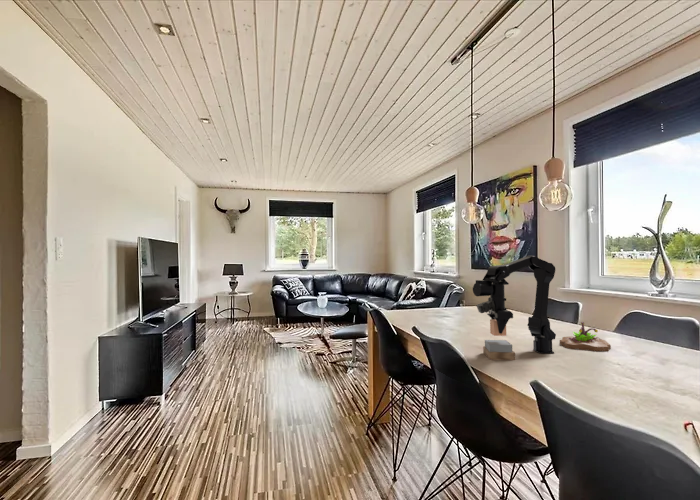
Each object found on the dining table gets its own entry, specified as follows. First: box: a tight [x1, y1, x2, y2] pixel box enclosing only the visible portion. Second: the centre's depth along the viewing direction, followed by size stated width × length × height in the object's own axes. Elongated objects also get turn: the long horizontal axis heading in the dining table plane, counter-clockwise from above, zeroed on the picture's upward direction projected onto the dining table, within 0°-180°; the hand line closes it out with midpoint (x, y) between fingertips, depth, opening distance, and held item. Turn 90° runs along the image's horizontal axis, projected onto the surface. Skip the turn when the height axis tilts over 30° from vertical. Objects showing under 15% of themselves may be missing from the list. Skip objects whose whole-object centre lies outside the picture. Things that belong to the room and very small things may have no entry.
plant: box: [559, 321, 612, 352], centre depth 168 cm, size 20×20×11 cm
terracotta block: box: [489, 318, 507, 337], centre depth 151 cm, size 5×5×6 cm
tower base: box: [482, 345, 516, 361], centre depth 151 cm, size 10×10×4 cm
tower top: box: [484, 339, 513, 352], centre depth 151 cm, size 9×9×3 cm
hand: (498, 332), depth 151 cm, fingers closed on terracotta block, 5 cm apart
